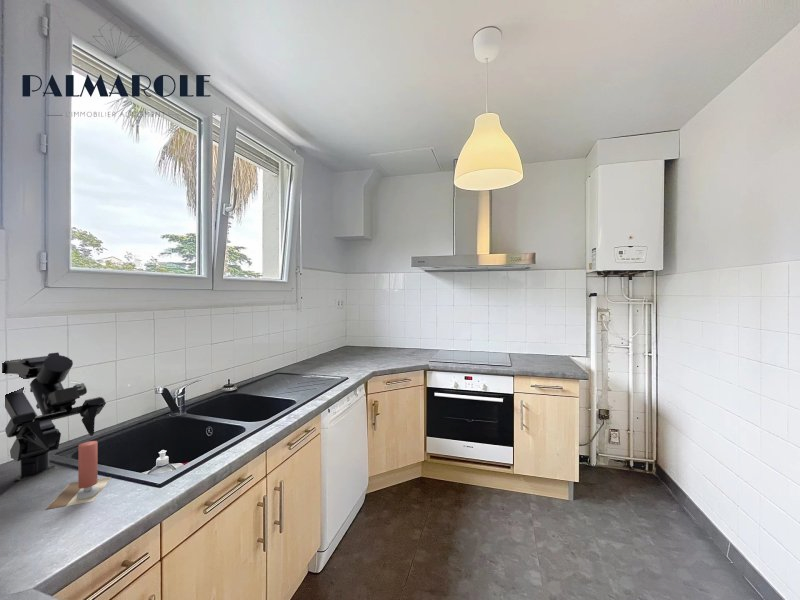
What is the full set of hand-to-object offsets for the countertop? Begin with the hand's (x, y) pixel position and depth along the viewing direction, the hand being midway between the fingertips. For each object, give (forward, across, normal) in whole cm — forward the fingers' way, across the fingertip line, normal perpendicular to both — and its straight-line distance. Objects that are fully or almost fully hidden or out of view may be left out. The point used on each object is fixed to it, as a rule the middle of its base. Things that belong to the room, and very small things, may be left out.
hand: (71, 441), depth 89 cm
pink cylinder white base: (+14, 0, +3) cm, 15 cm away
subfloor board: (+13, 0, +6) cm, 14 cm away
